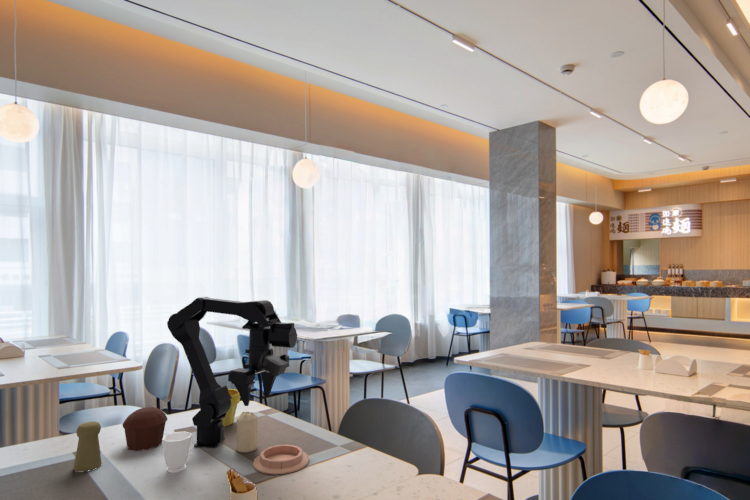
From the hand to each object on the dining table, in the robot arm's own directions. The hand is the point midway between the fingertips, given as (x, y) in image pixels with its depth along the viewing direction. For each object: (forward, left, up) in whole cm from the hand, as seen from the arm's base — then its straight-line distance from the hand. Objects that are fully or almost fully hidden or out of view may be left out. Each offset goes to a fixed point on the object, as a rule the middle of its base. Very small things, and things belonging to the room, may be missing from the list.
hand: (257, 401), depth 125 cm
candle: (-3, -1, -13) cm, 13 cm away
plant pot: (-18, +19, -13) cm, 29 cm away
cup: (-16, -13, -13) cm, 24 cm away
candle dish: (+9, -9, -13) cm, 18 cm away
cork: (-39, -15, -13) cm, 43 cm away
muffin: (-33, 0, -13) cm, 35 cm away
